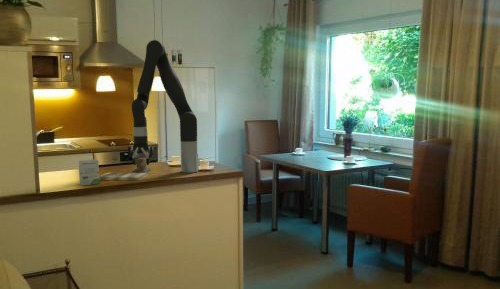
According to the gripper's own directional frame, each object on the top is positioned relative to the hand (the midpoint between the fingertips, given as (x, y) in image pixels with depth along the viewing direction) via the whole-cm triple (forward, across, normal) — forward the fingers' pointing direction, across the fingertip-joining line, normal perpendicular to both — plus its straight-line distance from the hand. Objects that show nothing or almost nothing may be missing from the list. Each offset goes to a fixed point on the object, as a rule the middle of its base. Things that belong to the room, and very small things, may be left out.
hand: (141, 164), depth 249 cm
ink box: (+5, +16, +32) cm, 36 cm away
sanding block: (+5, 0, 0) cm, 5 cm away
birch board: (+4, +5, +16) cm, 17 cm away
